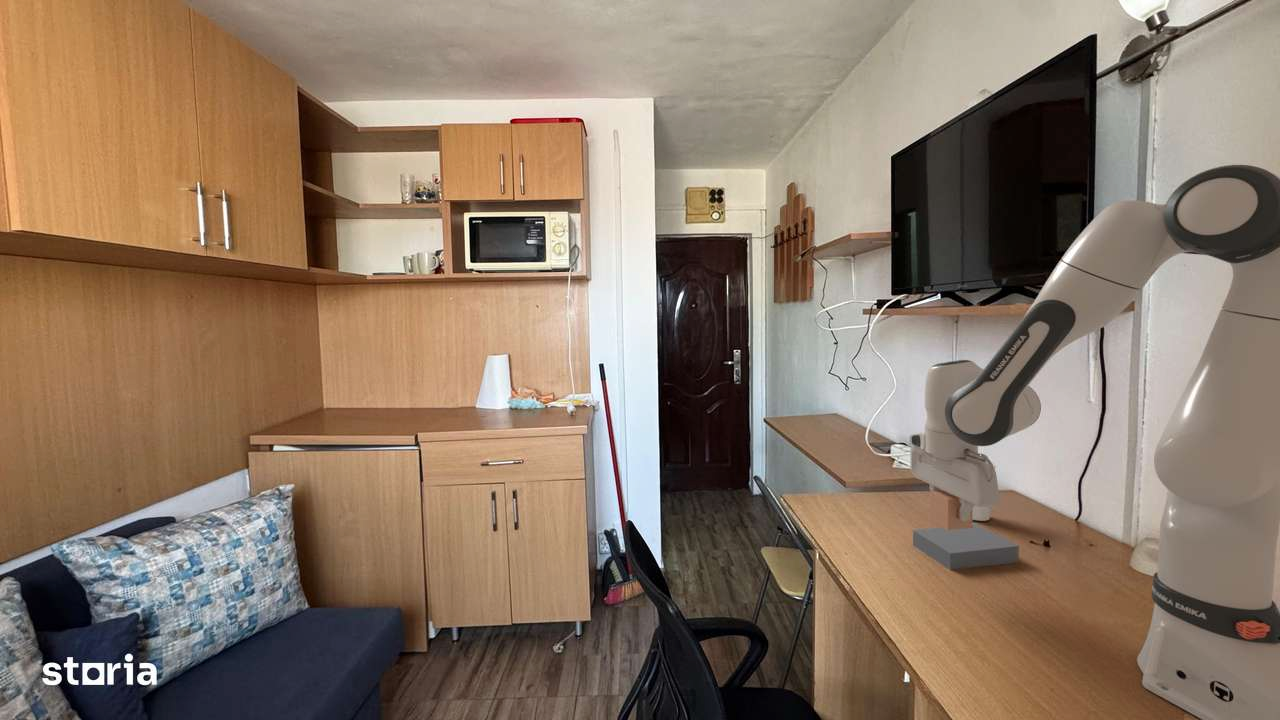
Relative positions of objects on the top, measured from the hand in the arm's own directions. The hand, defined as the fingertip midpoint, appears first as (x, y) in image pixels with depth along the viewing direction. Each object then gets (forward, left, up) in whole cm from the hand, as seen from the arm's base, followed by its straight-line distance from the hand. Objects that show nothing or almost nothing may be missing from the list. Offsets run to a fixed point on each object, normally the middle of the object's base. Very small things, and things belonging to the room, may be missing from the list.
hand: (951, 513), depth 104 cm
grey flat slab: (+12, -12, -15) cm, 23 cm away
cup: (+29, -29, -15) cm, 44 cm away
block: (0, 0, -2) cm, 2 cm away
